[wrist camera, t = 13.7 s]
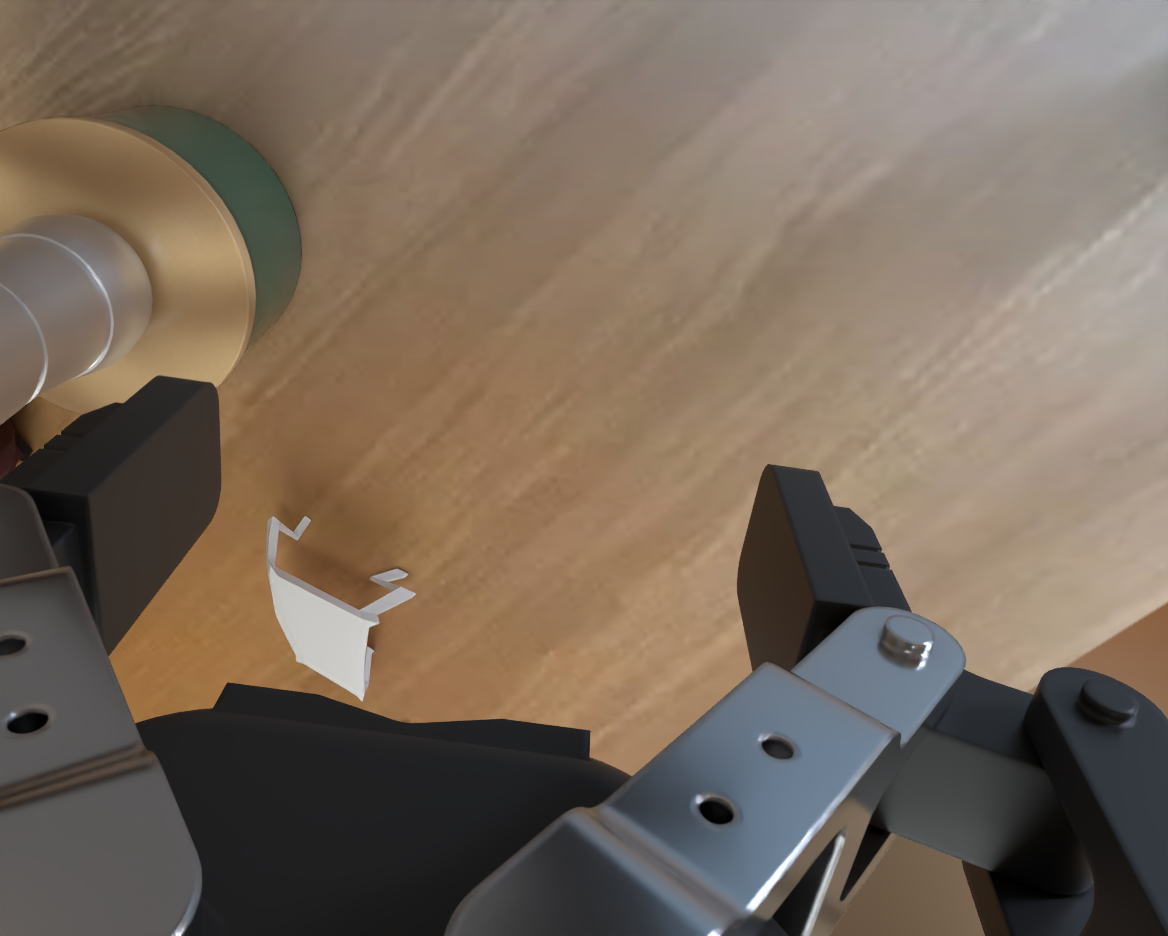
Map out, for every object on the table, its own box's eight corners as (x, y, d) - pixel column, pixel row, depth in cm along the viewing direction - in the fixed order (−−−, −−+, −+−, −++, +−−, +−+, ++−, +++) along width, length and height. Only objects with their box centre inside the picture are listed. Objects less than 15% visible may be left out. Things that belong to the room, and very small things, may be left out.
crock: (32, 80, 47) (-89, 96, 39) (307, 119, 48) (244, 143, 40) (62, 341, 53) (-37, 402, 45) (306, 373, 54) (252, 439, 45)
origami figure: (456, 602, 60) (444, 649, 56) (365, 671, 63) (347, 722, 58) (314, 471, 56) (289, 511, 52) (223, 550, 59) (192, 594, 54)
